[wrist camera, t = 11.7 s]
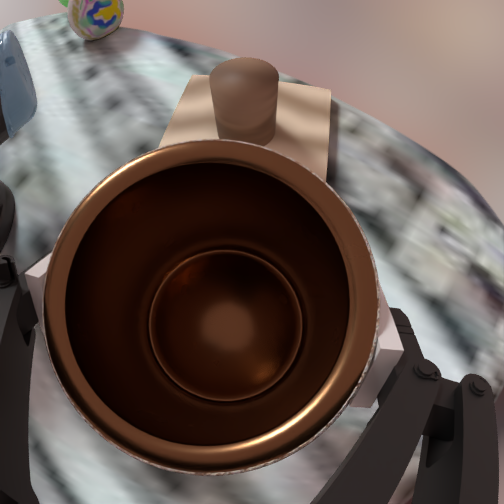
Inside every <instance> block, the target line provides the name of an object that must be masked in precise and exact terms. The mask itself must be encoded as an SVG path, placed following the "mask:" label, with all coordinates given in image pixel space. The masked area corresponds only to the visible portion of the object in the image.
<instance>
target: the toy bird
mask: <svg viewBox="0 0 504 504" xmlns="http://www.w3.org/2000/svg"><path fill="white" fill-rule="evenodd" d="M59 1H60V3H61V4H62V5H64V6H65V7H67V8H68V2H69V0H59Z"/></svg>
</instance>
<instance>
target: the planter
mask: <svg viewBox="0 0 504 504" xmlns="http://www.w3.org/2000/svg"><path fill="white" fill-rule="evenodd" d="M42 321H43V331H44V338H45V343H46V347H47V352H48V355H49V358H50V361H51V365H52V367H53V370H54V372H55V375H56V377H57V379H58V381H59V383H60V385H61V387H62V389H63V391H64V393H65V394H66V396H67V398H68V399H69V401H70V402H71V404H72V405H73V406H74V408H75V409H76V411H77V412H78V413H79V414H80V415H81V417H82V418H83V419H84V420H85V421H86V422H87V423H88V424H89V425H90V426H91V427H92V428H93V429H94V430H95V431H96V432H97V433H98V434H99V435H100V436H102V437H103V438H104V439H105V440H106V441H108V442H109V443H110V444H112V445H113V446H115V447H116V448H118V449H119V450H121V451H123V452H124V453H126V454H128V455H129V456H131V457H133V458H135V459H137V460H139V461H142V462H144V463H147V464H149V465H152V466H154V467H157V468H161V469H164V470H168V471H172V472H177V473H182V474H189V475H200V476H219V475H230V474H237V473H243V472H247V471H251V470H255V469H259V468H262V467H265V466H268V465H271V464H273V463H276V462H278V461H280V460H282V459H284V458H287V457H288V456H290V455H292V454H294V453H296V452H297V451H299V450H301V449H302V448H304V447H305V446H307V445H308V444H309V443H311V442H312V441H314V440H315V439H316V438H317V437H318V436H320V435H321V434H322V433H323V432H324V431H325V430H326V429H327V428H329V427H330V426H331V425H332V424H333V423H334V422H335V420H336V419H337V418H338V417H339V416H340V415H341V413H342V412H343V411H344V410H345V408H346V407H347V406H348V404H349V403H350V401H351V400H352V399H353V397H354V395H355V394H356V392H357V390H358V389H359V387H360V385H361V383H362V381H363V379H364V377H365V375H366V373H367V370H368V368H369V365H370V362H371V360H372V357H373V353H374V350H375V346H376V342H377V337H378V331H379V323H380V287H379V280H378V274H377V269H376V265H375V261H374V257H373V254H372V251H371V248H370V246H369V243H368V241H367V239H366V236H365V234H364V232H363V230H362V228H361V226H360V224H359V222H358V221H357V219H356V218H355V216H354V214H353V213H352V211H351V210H350V209H349V207H348V206H347V205H346V203H345V202H344V201H343V199H342V198H341V197H340V196H339V195H338V194H337V193H336V191H335V190H334V189H333V188H332V187H331V186H329V185H328V184H327V183H326V182H325V181H324V180H323V179H322V178H321V177H319V176H318V175H317V174H316V173H314V172H313V171H311V170H310V169H309V168H307V167H306V166H304V165H303V164H301V163H299V162H298V161H296V160H294V159H292V158H290V157H288V156H286V155H284V154H282V153H279V152H277V151H275V150H272V149H269V148H266V147H263V146H260V145H256V144H252V143H247V142H242V141H235V140H226V139H201V140H191V141H185V142H179V143H175V144H171V145H167V146H164V147H160V148H157V149H154V150H152V151H149V152H147V153H144V154H142V155H140V156H138V157H136V158H134V159H132V160H130V161H129V162H127V163H125V164H123V165H122V166H120V167H119V168H117V169H116V170H114V171H113V172H112V173H110V174H109V175H108V176H106V177H105V178H104V179H103V180H102V181H100V182H99V183H98V184H97V185H96V186H95V187H94V188H93V189H92V190H91V191H90V192H89V193H88V194H87V195H86V196H85V197H84V198H83V200H82V201H81V202H80V203H79V204H78V206H77V207H76V208H75V210H74V211H73V212H72V214H71V216H70V217H69V219H68V220H67V222H66V223H65V225H64V227H63V229H62V231H61V232H60V235H59V237H58V239H57V241H56V243H55V246H54V248H53V251H52V253H51V256H50V260H49V263H48V266H47V271H46V275H45V280H44V287H43V297H42Z"/></svg>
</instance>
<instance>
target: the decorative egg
mask: <svg viewBox="0 0 504 504" xmlns="http://www.w3.org/2000/svg"><path fill="white" fill-rule="evenodd" d="M67 13H68V20H69V23H70V26H71V28H72V29H73V31H74V32H75V33H76V34H77V35H78V36H80V37H81V38H83V39H86V40H96V39H100V38H102V37H105V36H107V35H109V34H110V33H112V32H113V31H115V30H116V29H117V28H118V27H119V25H120V23H121V21H122V18H123V14H124V6H123V1H122V0H69V2H68V11H67Z"/></svg>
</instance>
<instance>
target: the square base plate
mask: <svg viewBox="0 0 504 504" xmlns="http://www.w3.org/2000/svg"><path fill="white" fill-rule="evenodd" d="M330 104H331V90H328V89H323V88H318V87H312V86H306V85H300V84H294V83H287V82H279V74H278V72H277V70H276V69H275V68H274V67H273V66H272V65H271V64H269V63H268V62H266V61H263V60H260V59H255V58H235V59H231V60H228V61H225V62H223V63H221V64H219V65H218V66H216V67H215V68H214V69H213V71H212V72H211V74H210V75H192V76H191V78H190V80H189V82H188V84H187V86H186V88H185V90H184V92H183V94H182V96H181V98H180V101H179V103H178V105H177V107H176V109H175V111H174V113H173V116H172V118H171V120H170V122H169V124H168V127H167V129H166V131H165V133H164V136H163V138H162V140H161V143H160V145H159V148H160V147H164V146H167V145H171V144H175V143H179V142H185V141H191V140H201V139H226V140H235V141H242V142H247V143H252V144H256V145H260V146H263V147H266V148H269V149H272V150H275V151H277V152H279V153H282V154H284V155H286V156H288V157H290V158H292V159H294V160H296V161H298V162H299V163H301V164H303V165H304V166H306V167H307V168H309V169H310V170H311V171H313V172H314V173H316V174H317V175H318V176H319V177H321V178H322V179H323V180H324V181H325V182H326V173H327V159H328V144H329V126H330Z"/></svg>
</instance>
